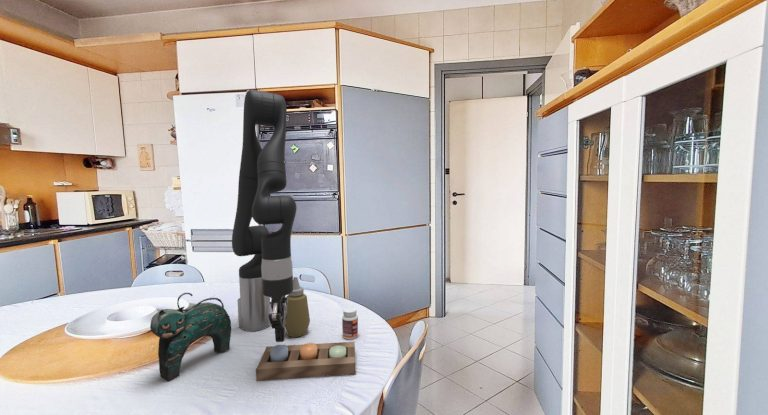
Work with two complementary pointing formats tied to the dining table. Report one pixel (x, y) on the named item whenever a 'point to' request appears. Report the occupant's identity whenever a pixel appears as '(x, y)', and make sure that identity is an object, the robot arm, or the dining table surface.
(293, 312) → the squeeze bottle
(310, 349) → the orange button
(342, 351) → the sage green button
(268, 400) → the dining table surface
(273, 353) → the slate blue button
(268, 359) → the walnut button panel
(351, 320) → the pill bottle
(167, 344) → the ceramic cat
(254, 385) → the dining table surface
